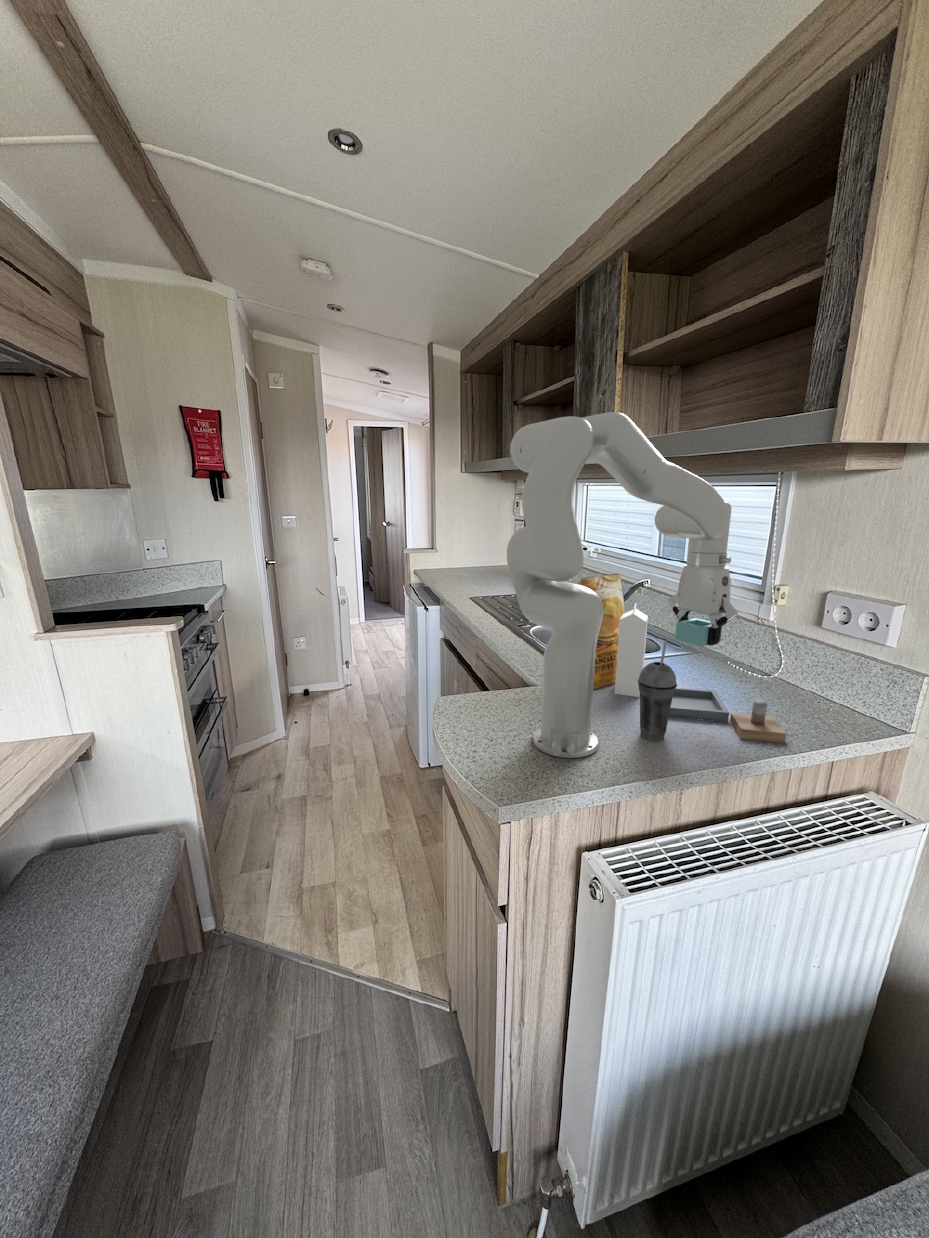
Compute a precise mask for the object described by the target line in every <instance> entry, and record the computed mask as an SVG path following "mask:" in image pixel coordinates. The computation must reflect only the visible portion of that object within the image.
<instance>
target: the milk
mask: <svg viewBox="0 0 929 1238" xmlns="http://www.w3.org/2000/svg"><path fill="white" fill-rule="evenodd" d="M648 620H649V616H648V615H647V614H645V613H644V612H642V611H640V610H639V609H637V603H635V604H634V605H633V608H632V609H631V610H629V611H627V612H625V614H623V615H622V617H621V618H620V624H619V638H618V652H617V666H616V680H615V683H614V684H615V685H614V694H615V695H620V696H627V697H635V698H640V691H639V686H638V684H639V683H638V679H639V676H640V673H641V671H642V669H643V668H644V667H645V658H646V645H647V632H648Z"/></svg>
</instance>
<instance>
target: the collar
mask: <svg viewBox="0 0 929 1238" xmlns="http://www.w3.org/2000/svg"><path fill="white" fill-rule="evenodd" d="M688 619H689V620H684V621H679V620H678V621H679V622H678V621H676V628H675V638H674V639H675V640H676V641H679V642H684V643H687V644H691V645H695V646H699V647H706V646H709V645H708V644H707V642H708V633H709V627H712V625H711V622H710V620H705V619H700V618H695V617H693V618H688ZM722 629H723V626H722V627H721V635H720V640H719V643H720V642H721V641H722V640H721V639H722V631H723V630H722Z"/></svg>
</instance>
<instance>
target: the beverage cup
mask: <svg viewBox="0 0 929 1238" xmlns="http://www.w3.org/2000/svg"><path fill="white" fill-rule="evenodd" d="M667 644H668V640H664V641H663V646H662V651H661V657H660V661H654V662H650V663H647V664H646V665H644V668H643V669H642V671H641V673H640V676H639V679H638V683H639V684H638V686H639V691H640V697H639V728H640V731H639V732H640V737H641V738H642V739H644V740H646V741H648V742H650V741H651V742H662V741H664V739H665V735H666V732H667V727H668V723H669V718H670V717H669V713H670V708H671V703H672V698H673V696H674V693H675V689H676V688H678V684H677V683H678V682H677V676H676V674H675V672H674V670H673V668H671V666H670V665H668V664H667V663H664V659H665V655H666V648H667Z"/></svg>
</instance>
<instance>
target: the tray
mask: <svg viewBox="0 0 929 1238" xmlns="http://www.w3.org/2000/svg"><path fill="white" fill-rule="evenodd" d="M729 715H730V711H729V710H728V709H727V707H726V706H725V704H724V703H723V700H722V699H721V697H720V696H719V694H718V693H717V691H716V690H711V689H702V688H701V689H699V688H686V687H676V689H675V693H674V696H673V698H672V703H671V708H670V713H669V718H677V719H678V718H679V719H687V720H697V719H700V720H699V721H708V720H714V721H713V722H719V721H722V722H721V723H729V719H730V718H729ZM701 719H703V720H701Z"/></svg>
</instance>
